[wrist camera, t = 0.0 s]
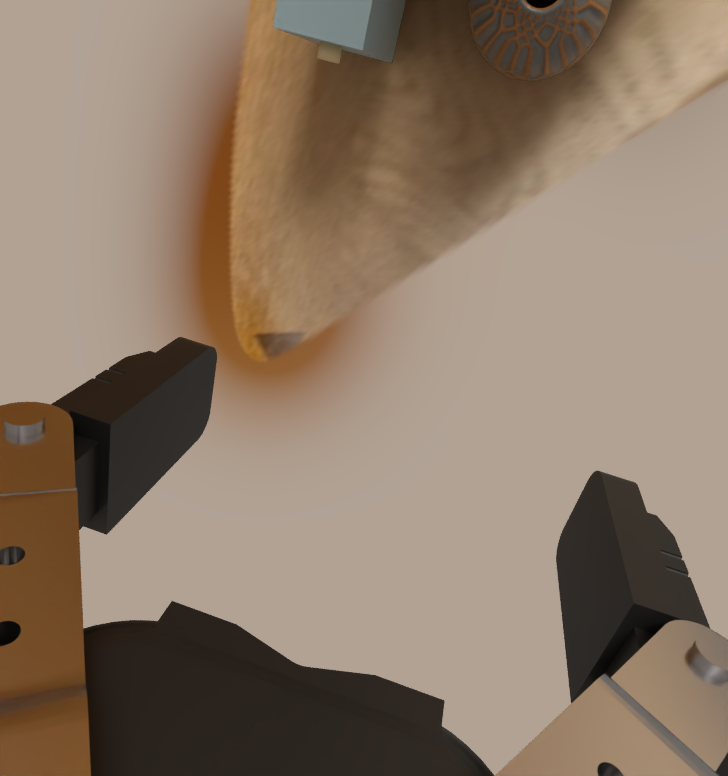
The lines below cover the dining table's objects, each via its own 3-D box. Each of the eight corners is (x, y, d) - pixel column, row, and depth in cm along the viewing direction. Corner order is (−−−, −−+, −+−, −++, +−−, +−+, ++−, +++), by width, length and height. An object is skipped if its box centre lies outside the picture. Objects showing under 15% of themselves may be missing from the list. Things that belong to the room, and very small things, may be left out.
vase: (448, 12, 34) (429, -18, 26) (551, -96, 31) (565, -167, 23) (521, 110, 35) (525, 109, 27) (628, 15, 32) (665, -16, 24)
